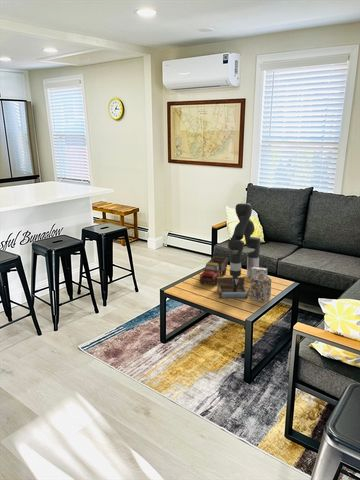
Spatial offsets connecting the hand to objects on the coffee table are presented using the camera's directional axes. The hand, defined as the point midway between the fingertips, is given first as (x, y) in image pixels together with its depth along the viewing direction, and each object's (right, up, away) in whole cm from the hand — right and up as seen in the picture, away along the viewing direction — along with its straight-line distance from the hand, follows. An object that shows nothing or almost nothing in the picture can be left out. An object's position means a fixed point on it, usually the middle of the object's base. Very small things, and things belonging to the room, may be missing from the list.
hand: (234, 292), depth 257 cm
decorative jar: (+19, -6, +8) cm, 22 cm away
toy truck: (-10, +4, +46) cm, 47 cm away
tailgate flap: (0, -4, +7) cm, 8 cm away
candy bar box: (+21, -1, +24) cm, 32 cm away
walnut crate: (0, -3, +16) cm, 16 cm away
